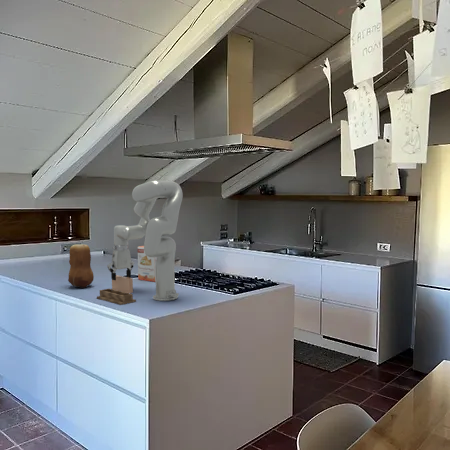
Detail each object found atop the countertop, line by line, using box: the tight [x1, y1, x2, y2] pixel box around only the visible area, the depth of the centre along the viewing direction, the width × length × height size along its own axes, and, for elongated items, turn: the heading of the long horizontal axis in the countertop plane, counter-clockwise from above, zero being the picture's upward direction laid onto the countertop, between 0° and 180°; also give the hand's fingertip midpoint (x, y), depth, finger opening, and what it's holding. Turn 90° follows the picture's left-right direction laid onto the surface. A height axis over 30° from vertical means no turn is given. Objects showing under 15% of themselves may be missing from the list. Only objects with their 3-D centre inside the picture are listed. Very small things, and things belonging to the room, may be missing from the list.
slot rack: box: [96, 288, 137, 306], centre depth 233 cm, size 21×9×4 cm, turn 48°
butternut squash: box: [67, 243, 95, 289], centre depth 264 cm, size 14×13×25 cm
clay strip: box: [111, 274, 134, 294], centre depth 255 cm, size 16×2×8 cm, turn 47°
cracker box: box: [137, 245, 157, 283], centre depth 284 cm, size 14×6×21 cm, turn 56°
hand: (121, 278), depth 255 cm, fingers open, 9 cm apart
